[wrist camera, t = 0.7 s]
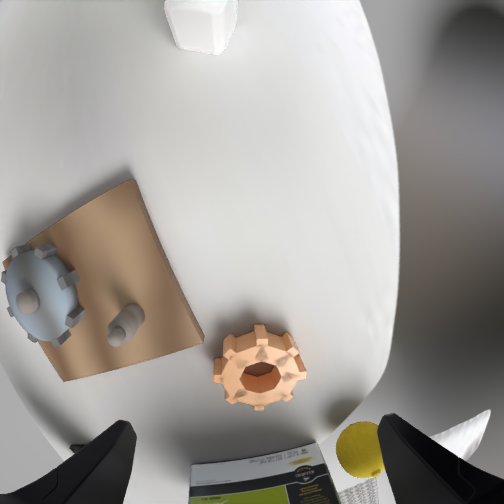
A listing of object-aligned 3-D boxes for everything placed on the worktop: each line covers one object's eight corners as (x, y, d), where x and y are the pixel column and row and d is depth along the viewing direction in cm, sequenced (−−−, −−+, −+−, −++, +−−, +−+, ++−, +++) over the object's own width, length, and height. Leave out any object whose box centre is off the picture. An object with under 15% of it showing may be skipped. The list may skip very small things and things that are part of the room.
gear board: (68, 375, 21) (44, 405, 15) (9, 259, 18) (-27, 272, 13) (204, 335, 21) (197, 374, 16) (135, 180, 18) (104, 174, 13)
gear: (236, 400, 22) (236, 418, 20) (202, 343, 21) (199, 358, 19) (307, 375, 22) (314, 391, 20) (283, 313, 21) (289, 326, 19)
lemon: (318, 430, 24) (339, 485, 16) (360, 400, 24) (392, 452, 16) (342, 445, 25) (363, 493, 17) (380, 418, 25) (409, 464, 17)
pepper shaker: (238, 24, 16) (244, -54, 7) (222, 59, 17) (219, -22, 8) (193, 17, 16) (178, -58, 7) (175, 51, 17) (147, -24, 7)
